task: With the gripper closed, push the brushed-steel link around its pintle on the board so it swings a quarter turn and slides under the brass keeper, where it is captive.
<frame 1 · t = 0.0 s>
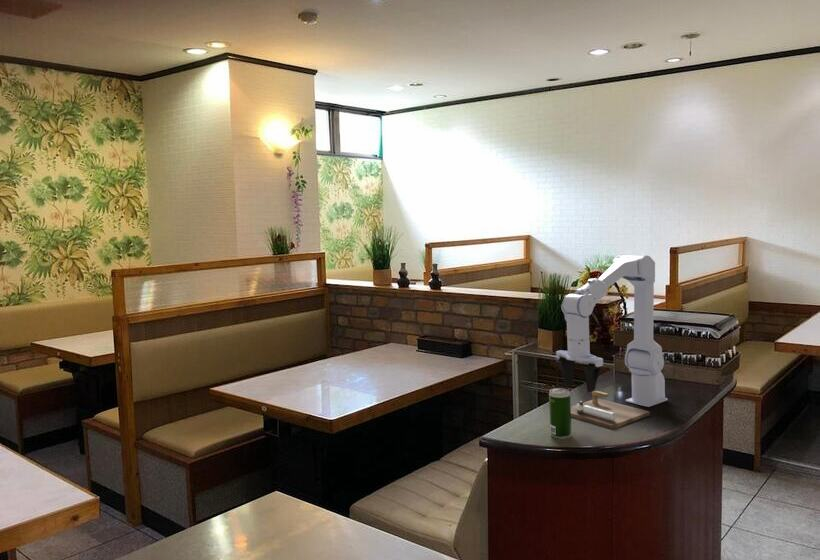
hand: (579, 388, 176), 10 cm above the table, fingers open, 7 cm apart
steel link: (595, 410, 179), point 3 cm above the table, hinge at -90.0°
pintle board: (604, 414, 184), on the table
beer can: (560, 436, 170), on the table
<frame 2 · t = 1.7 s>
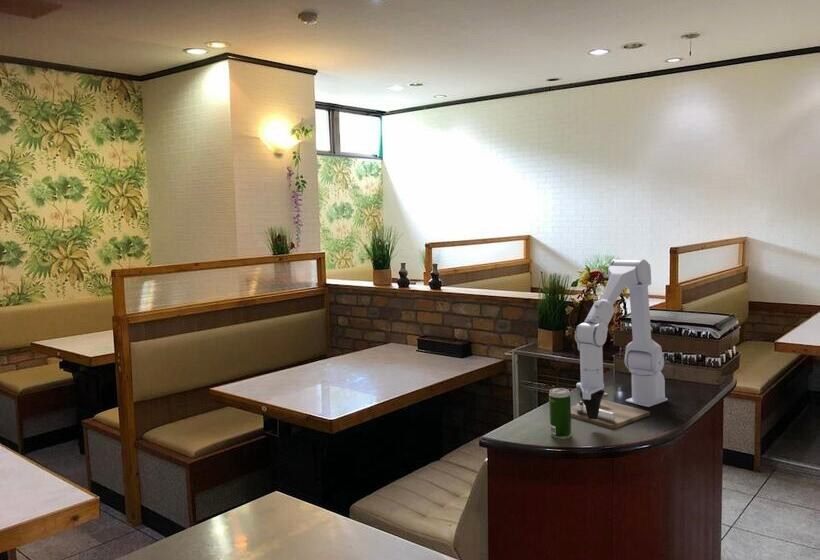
hand: (592, 418, 173), 3 cm above the table, fingers closed
nothing on the table moved.
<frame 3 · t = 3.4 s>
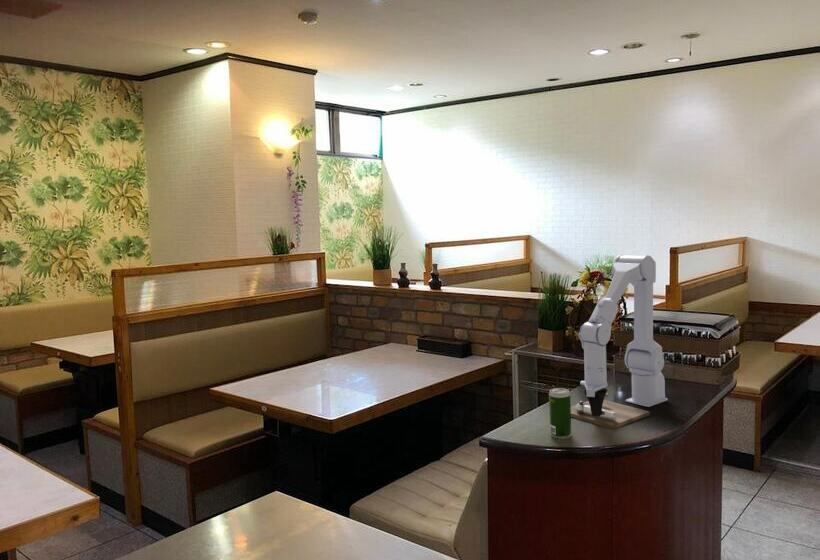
hand: (596, 415, 178), 2 cm above the table, fingers closed, pressing on steel link
steel link: (595, 410, 179), point 3 cm above the table, hinge at -86.9°, touching gripper
everything else where it was.
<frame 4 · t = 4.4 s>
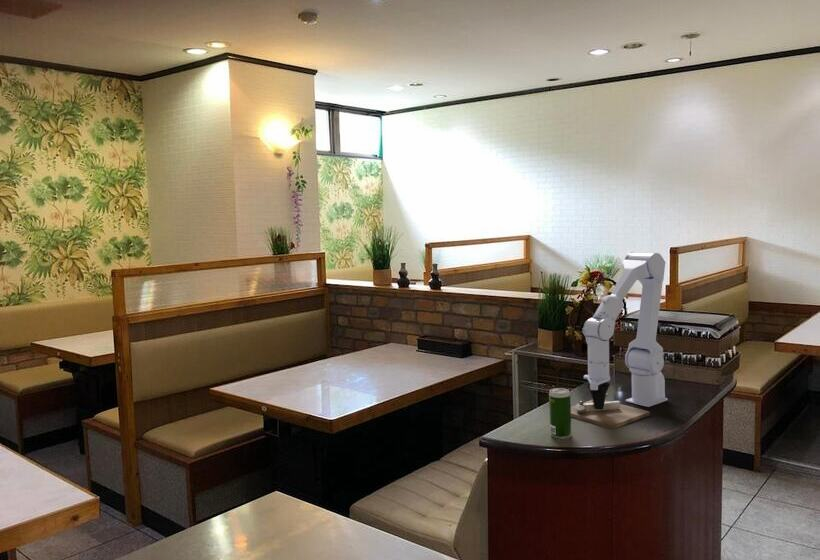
hand: (599, 408, 182), 2 cm above the table, fingers closed, pressing on steel link
steel link: (598, 405, 184), point 3 cm above the table, hinge at -29.7°, touching gripper
everything else where it was.
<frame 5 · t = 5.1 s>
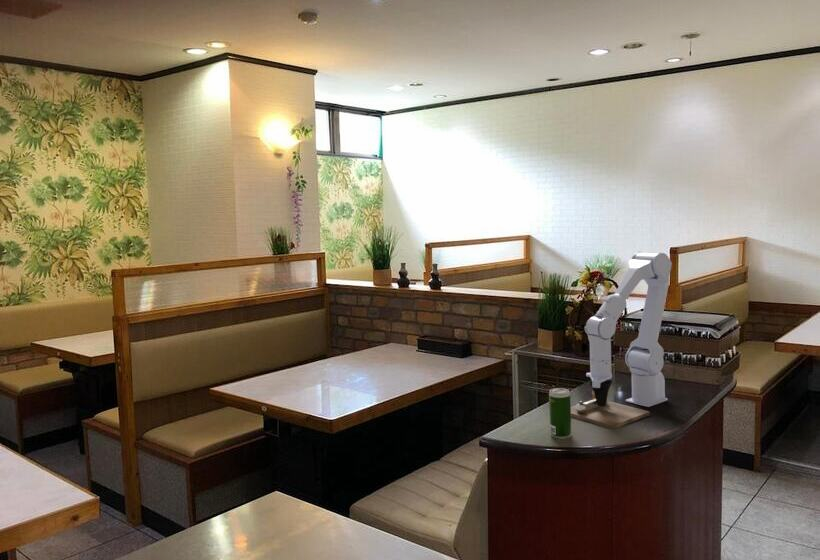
hand: (601, 405, 185), 2 cm above the table, fingers closed, pressing on steel link
steel link: (592, 402, 186), point 3 cm above the table, hinge at 0.5°, touching gripper
everything else where it was.
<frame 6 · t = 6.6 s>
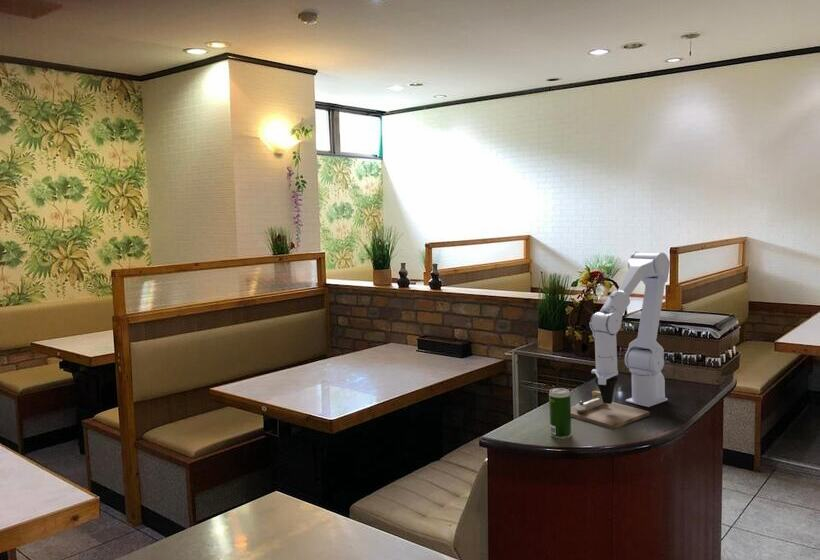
hand: (607, 402, 182), 4 cm above the table, fingers closed
steel link: (592, 402, 186), point 3 cm above the table, hinge at 3.0°
everything else where it was.
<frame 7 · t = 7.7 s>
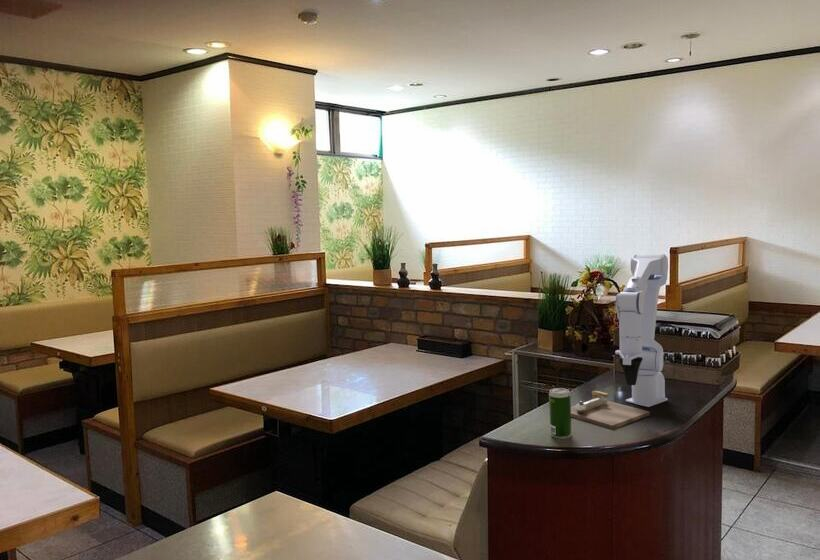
hand: (631, 384, 179), 9 cm above the table, fingers closed
nothing on the table moved.
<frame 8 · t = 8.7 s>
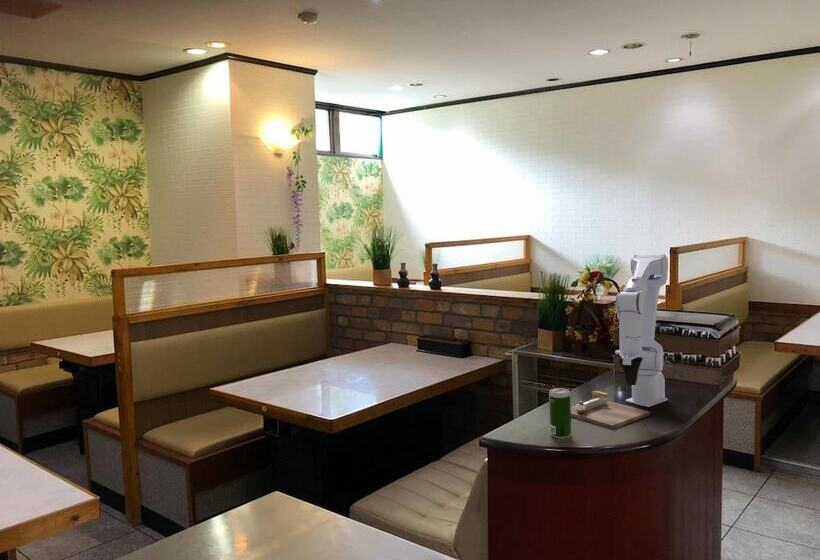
hand: (631, 384, 179), 9 cm above the table, fingers closed
nothing on the table moved.
at the end: steel link at +3° (first picture: -90°); the gripper is holding nothing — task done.
